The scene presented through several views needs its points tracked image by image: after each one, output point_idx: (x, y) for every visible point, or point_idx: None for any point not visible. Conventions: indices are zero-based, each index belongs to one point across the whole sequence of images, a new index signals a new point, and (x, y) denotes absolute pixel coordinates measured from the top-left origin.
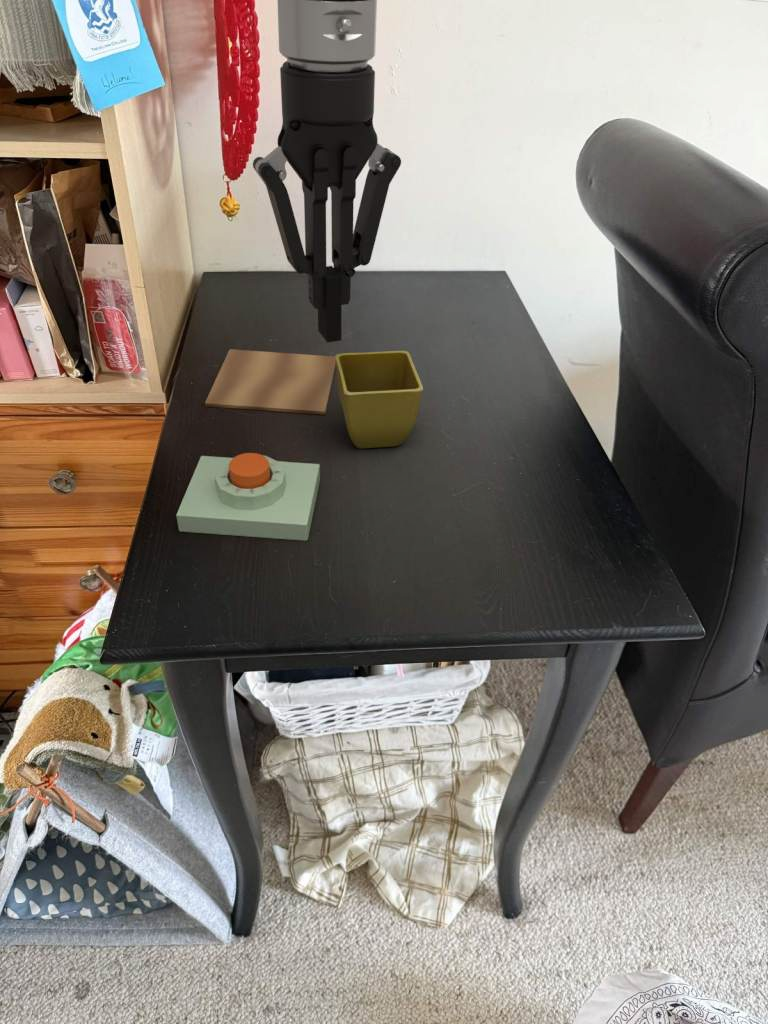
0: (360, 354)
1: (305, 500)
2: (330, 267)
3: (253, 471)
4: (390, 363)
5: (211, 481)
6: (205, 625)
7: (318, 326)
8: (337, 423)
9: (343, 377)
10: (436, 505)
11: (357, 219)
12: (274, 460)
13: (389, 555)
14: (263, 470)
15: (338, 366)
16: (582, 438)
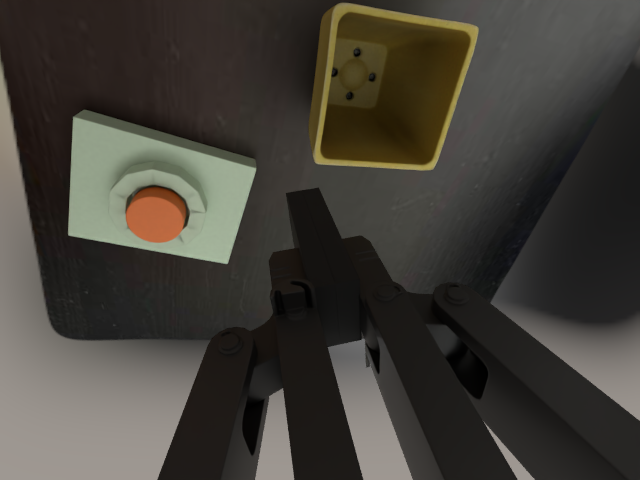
0: (386, 18)
1: (229, 230)
2: (351, 290)
3: (162, 235)
4: (434, 28)
5: (103, 181)
6: (132, 325)
7: (287, 200)
8: (307, 18)
9: (325, 107)
10: (369, 220)
11: (528, 393)
12: (192, 189)
13: None
14: (176, 234)
15: (327, 62)
16: (580, 137)
